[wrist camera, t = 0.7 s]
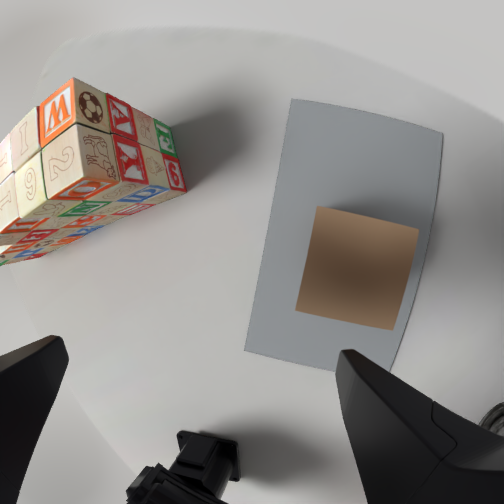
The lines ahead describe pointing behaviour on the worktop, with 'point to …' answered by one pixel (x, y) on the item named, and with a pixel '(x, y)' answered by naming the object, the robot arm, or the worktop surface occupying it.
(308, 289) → the walnut block
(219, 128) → the worktop surface
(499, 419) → the grey stone statuette
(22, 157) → the stack of blocks
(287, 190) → the slate mat
